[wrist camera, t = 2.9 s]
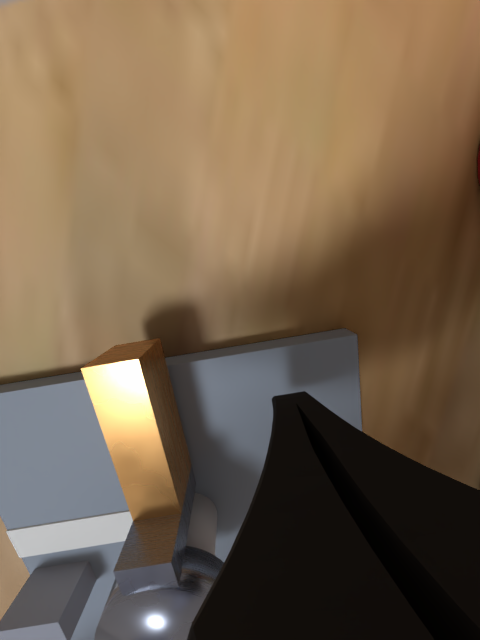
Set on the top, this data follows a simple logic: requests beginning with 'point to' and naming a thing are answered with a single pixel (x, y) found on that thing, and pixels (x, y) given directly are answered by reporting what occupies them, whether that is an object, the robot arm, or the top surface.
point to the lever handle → (149, 497)
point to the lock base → (102, 481)
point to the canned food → (479, 165)
